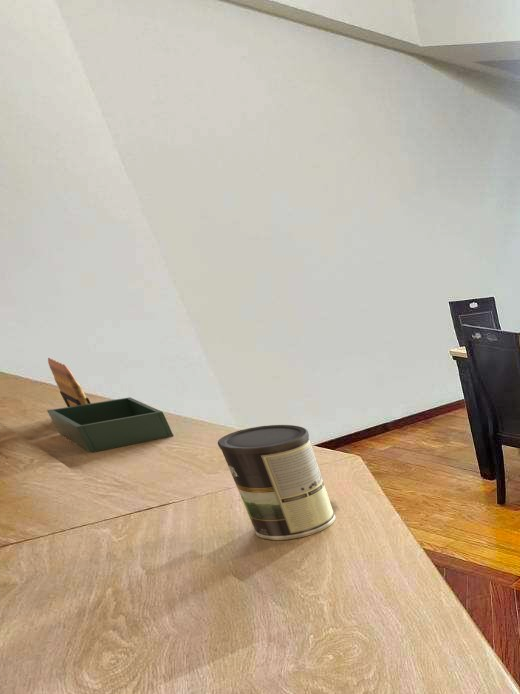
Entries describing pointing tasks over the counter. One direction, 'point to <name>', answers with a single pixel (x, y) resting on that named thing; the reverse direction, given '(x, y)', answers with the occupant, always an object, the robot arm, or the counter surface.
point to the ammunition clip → (67, 384)
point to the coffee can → (278, 481)
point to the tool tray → (110, 423)
